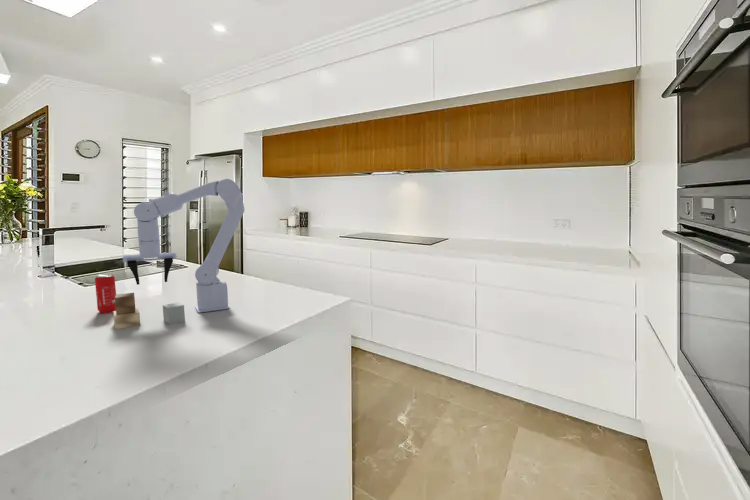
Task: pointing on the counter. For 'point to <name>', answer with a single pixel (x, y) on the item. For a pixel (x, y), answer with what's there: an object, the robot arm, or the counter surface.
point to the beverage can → (105, 293)
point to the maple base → (127, 319)
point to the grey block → (173, 313)
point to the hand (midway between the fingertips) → (152, 282)
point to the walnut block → (125, 303)
